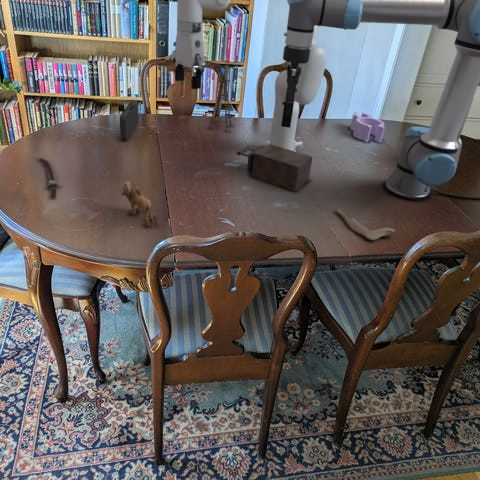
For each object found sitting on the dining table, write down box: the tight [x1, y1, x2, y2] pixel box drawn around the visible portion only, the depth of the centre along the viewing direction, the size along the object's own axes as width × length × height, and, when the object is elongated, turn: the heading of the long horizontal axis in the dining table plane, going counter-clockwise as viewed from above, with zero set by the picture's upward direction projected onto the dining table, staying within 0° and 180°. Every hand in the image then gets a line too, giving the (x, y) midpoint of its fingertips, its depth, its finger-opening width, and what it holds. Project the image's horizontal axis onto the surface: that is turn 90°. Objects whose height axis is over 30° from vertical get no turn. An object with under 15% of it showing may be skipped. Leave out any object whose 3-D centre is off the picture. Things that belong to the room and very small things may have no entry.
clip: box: [349, 112, 386, 143], centre depth 214 cm, size 20×12×7 cm, turn 11°
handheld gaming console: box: [119, 99, 140, 141], centre depth 189 cm, size 23×3×10 cm, turn 178°
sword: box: [40, 158, 59, 198], centre depth 151 cm, size 31×3×1 cm, turn 26°
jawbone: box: [334, 207, 396, 241], centre depth 142 cm, size 9×20×2 cm, turn 50°
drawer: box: [236, 145, 267, 174], centre depth 167 cm, size 22×11×7 cm, turn 59°
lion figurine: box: [119, 181, 159, 227], centre depth 134 cm, size 15×5×9 cm, turn 50°
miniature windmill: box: [208, 56, 232, 132], centre depth 198 cm, size 9×8×30 cm
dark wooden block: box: [251, 143, 314, 192], centre depth 165 cm, size 17×12×9 cm
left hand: (187, 84), depth 151 cm, fingers open, 9 cm apart
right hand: (286, 119), depth 144 cm, fingers open, 13 cm apart
